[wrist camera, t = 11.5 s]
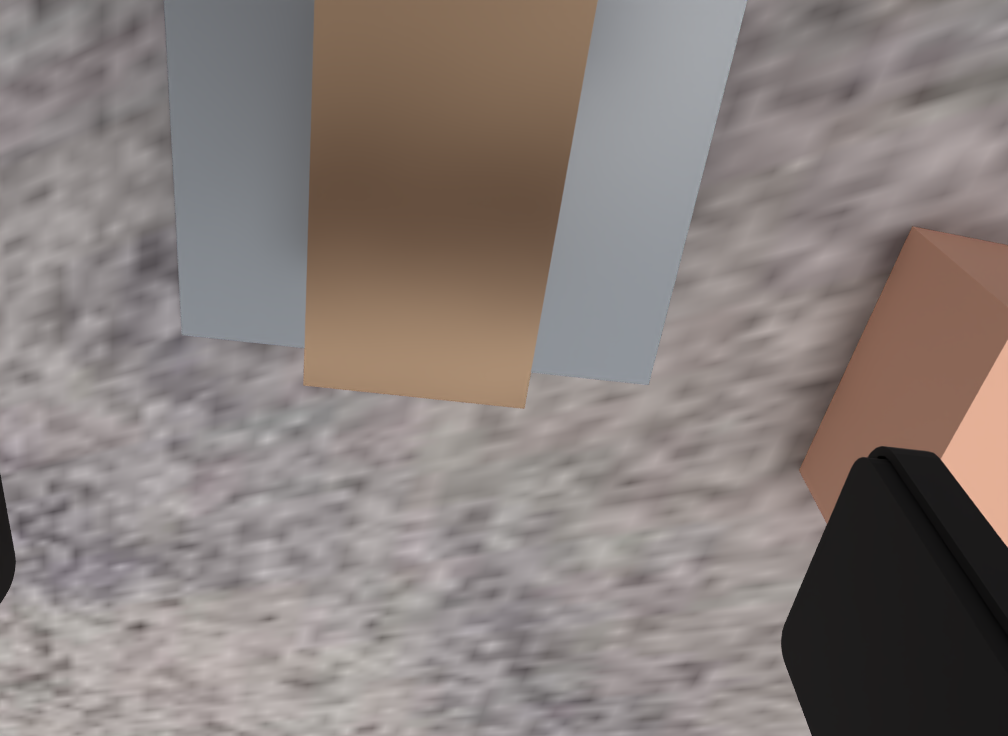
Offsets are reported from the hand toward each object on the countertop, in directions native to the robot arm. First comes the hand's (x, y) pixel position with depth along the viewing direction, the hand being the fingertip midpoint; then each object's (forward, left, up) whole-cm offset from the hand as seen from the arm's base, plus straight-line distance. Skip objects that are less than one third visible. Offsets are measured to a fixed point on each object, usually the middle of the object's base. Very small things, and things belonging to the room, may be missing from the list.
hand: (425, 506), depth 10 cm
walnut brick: (0, 0, -15) cm, 15 cm away
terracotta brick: (+6, +16, -16) cm, 23 cm away
